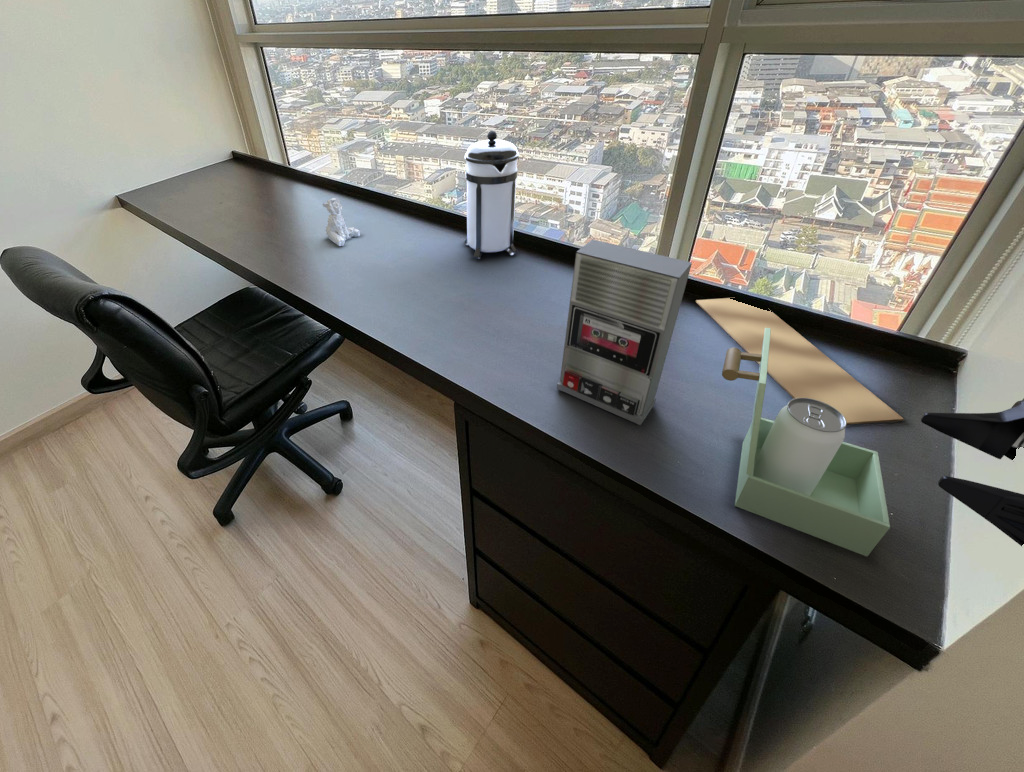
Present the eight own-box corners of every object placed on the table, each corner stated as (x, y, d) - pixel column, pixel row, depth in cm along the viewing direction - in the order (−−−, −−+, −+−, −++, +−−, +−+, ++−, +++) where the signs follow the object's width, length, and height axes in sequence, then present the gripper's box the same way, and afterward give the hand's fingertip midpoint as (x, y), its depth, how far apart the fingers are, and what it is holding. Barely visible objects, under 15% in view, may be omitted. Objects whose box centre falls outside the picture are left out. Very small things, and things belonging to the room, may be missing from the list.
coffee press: (530, 244, 129) (538, 126, 113) (498, 266, 119) (502, 140, 103) (477, 231, 139) (477, 120, 122) (443, 251, 128) (439, 133, 112)
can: (747, 486, 62) (779, 419, 55) (755, 454, 66) (786, 388, 59) (808, 511, 58) (850, 443, 52) (812, 476, 63) (852, 408, 56)
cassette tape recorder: (555, 390, 80) (572, 253, 66) (572, 372, 84) (591, 238, 70) (639, 427, 72) (678, 280, 58) (654, 405, 76) (693, 262, 62)
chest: (858, 481, 62) (878, 451, 59) (867, 556, 54) (890, 527, 51) (742, 443, 68) (754, 415, 65) (734, 506, 60) (748, 477, 57)
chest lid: (771, 328, 59) (730, 324, 61) (766, 383, 51) (719, 377, 53) (758, 413, 65) (722, 407, 67) (752, 475, 57) (711, 466, 59)
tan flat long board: (902, 420, 70) (904, 418, 70) (821, 426, 70) (822, 424, 70) (752, 297, 100) (753, 296, 100) (695, 301, 100) (695, 300, 100)
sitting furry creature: (341, 247, 134) (334, 206, 128) (318, 242, 138) (310, 202, 132) (361, 235, 141) (356, 195, 134) (339, 230, 145) (332, 191, 138)
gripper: (1208, 376, 41) (954, 329, 48) (1394, 556, 28) (1008, 453, 35) (1114, 465, 47) (901, 411, 54) (1232, 647, 34) (932, 543, 41)
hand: (930, 446), depth 46 cm, fingers open, 9 cm apart
